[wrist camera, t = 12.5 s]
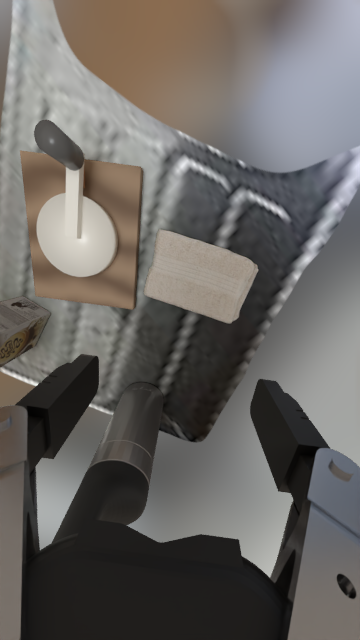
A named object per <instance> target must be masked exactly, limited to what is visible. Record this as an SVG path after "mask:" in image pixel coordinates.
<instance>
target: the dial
mask: <svg viewBox="0 0 360 640" xmlns="http://www.w3.org/2000/svg"><path fill="white" fill-rule="evenodd" d="M34 136H35V141H36V143H37V145H38V147H39V148H40V149H41V150H42V151H43V152H45V153H46V154H48V155H49V156H51V157H52V158H54V159H55V160H57V161H58V162H60V163H61V164H63V165H64V166H65V167H66V193H63V194H59V195H56V196H54V197H52V198H51V199H49V200H48V201H47V202H46V203H45V204H44V205H43V207H42V208H41V210H40V213H39V215H38V219H37V237H38V241H39V245H40V247H41V249H42V251H43V253H44V255H45V256H46V258H47V259H48V260H49V261H50V262H51V264H53V265H54V266H55V267H56V268H57V269H59V270H60V271H62V272H64V273H66V274H68V275H71V276H76V277H87V276H92V275H95V274H98V273H101V272H103V271H104V270H106V269H107V268H108V267H109V266H110V265H111V263H112V262H113V260H114V258H115V256H116V253H117V248H118V236H117V231H116V228H115V225H114V223H113V220H112V219H111V217H110V216H109V214H108V213H107V212H106V211H105V210H104V208H103V207H101V206H100V205H99V204H98V203H96V202H94V201H93V200H91V199H89V198H87V197H85V196H83V178H84V155H85V154H84V153H83V152H82V150H81V149H80V147H79V146H78V145H76V144H75V143H74V142H73V141H72V140H71V139H70V138H69V137H68V136H67V135H66V134H65V133H64V132H63V131H62V130H61V129H60V128H58V127H57V126H56V125H55V124H54V123H53V122H51V121H49V120H42V121H40V122H39V123H38V124H37V125H36V127H35V131H34Z"/></svg>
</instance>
